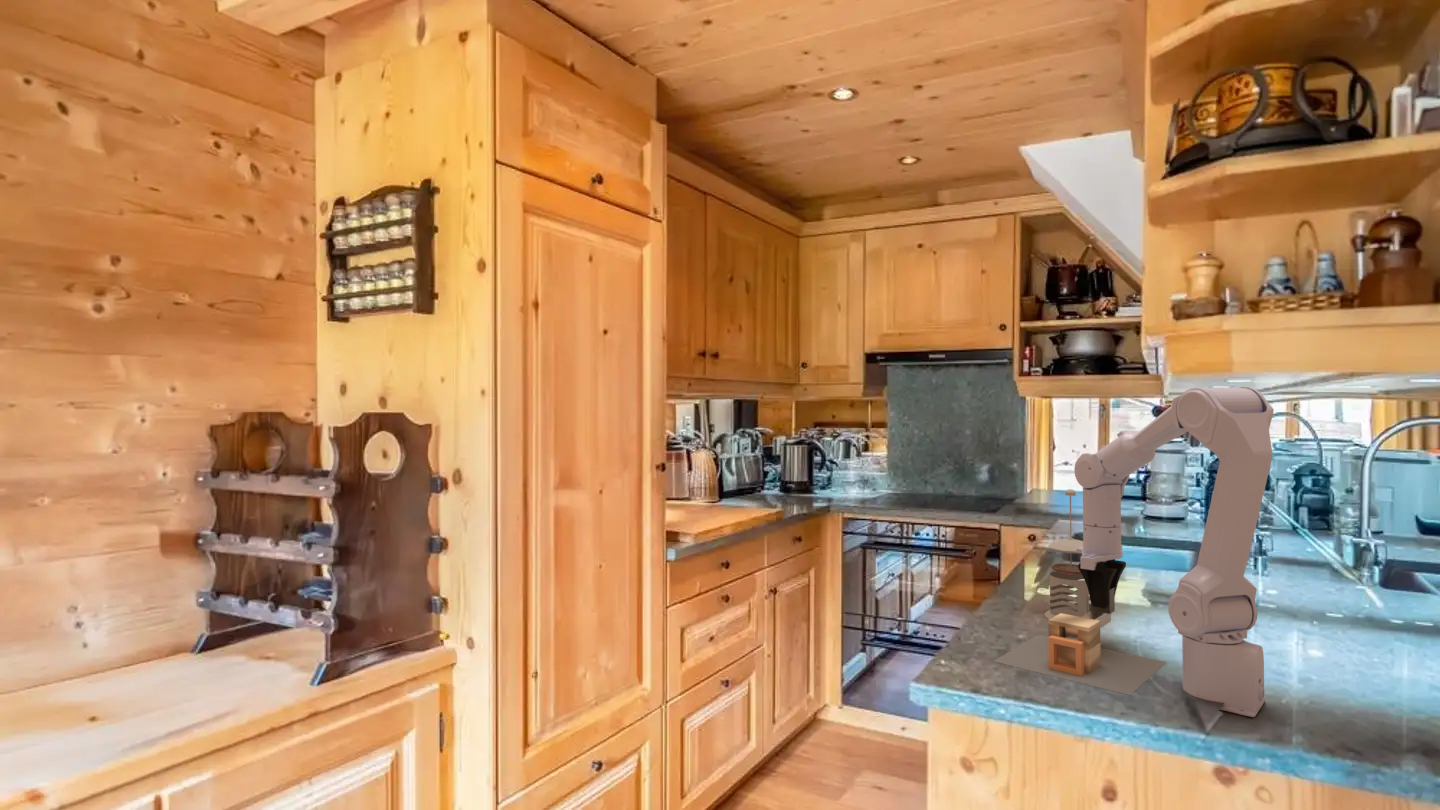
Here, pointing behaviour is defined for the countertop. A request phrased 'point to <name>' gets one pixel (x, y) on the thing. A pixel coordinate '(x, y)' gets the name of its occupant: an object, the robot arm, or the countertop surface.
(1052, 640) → the spacer
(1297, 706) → the countertop surface
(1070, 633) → the shaft
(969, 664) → the countertop surface
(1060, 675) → the mounting plate
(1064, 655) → the bearing block
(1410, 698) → the countertop surface
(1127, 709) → the countertop surface
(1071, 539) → the french press
